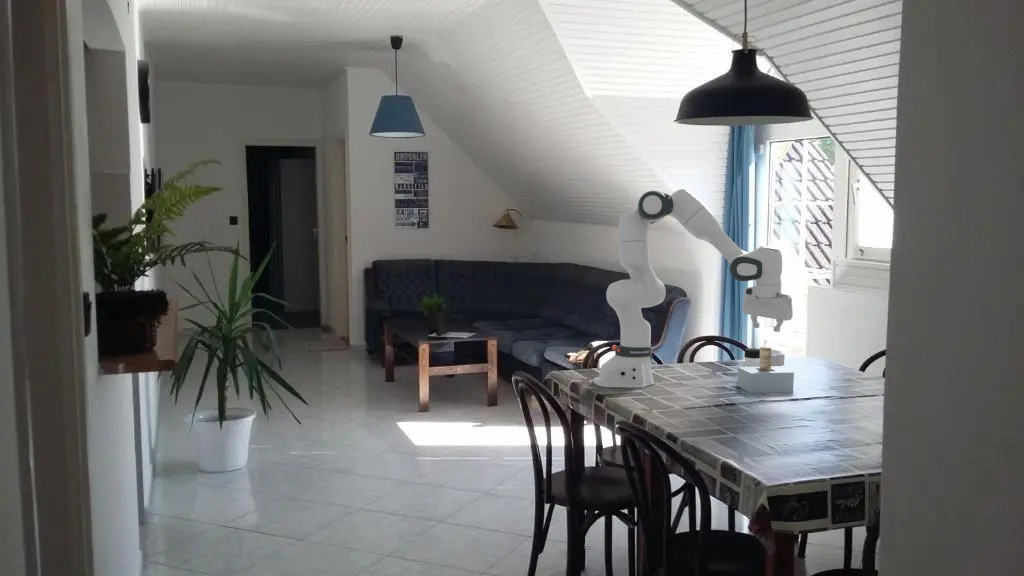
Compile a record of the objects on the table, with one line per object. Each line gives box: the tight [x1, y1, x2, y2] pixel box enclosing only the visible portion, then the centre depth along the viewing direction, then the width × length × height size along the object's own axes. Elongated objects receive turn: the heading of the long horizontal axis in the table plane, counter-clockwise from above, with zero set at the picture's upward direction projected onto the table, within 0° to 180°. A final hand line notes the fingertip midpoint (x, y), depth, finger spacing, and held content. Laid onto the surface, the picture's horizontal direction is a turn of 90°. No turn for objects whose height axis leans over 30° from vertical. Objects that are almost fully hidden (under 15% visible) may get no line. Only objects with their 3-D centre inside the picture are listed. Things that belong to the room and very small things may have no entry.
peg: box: [759, 346, 773, 371], centre depth 318 cm, size 4×4×14 cm
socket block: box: [736, 366, 795, 394], centre depth 319 cm, size 16×12×7 cm
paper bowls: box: [757, 347, 786, 367], centre depth 352 cm, size 15×15×8 cm
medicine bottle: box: [740, 347, 760, 367], centre depth 334 cm, size 7×7×12 cm
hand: (766, 329), depth 317 cm, fingers open, 8 cm apart
